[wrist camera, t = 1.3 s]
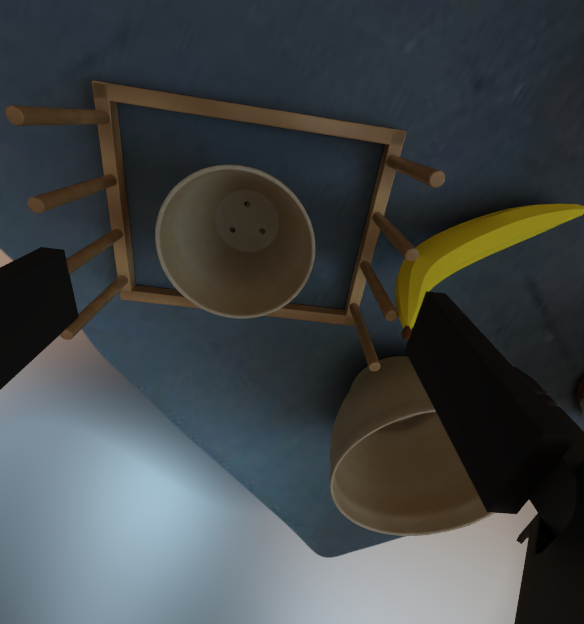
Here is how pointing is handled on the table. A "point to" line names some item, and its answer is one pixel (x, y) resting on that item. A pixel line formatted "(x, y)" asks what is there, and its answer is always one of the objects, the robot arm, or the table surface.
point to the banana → (470, 250)
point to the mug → (581, 394)
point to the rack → (113, 93)
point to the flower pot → (235, 241)
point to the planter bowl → (398, 458)
